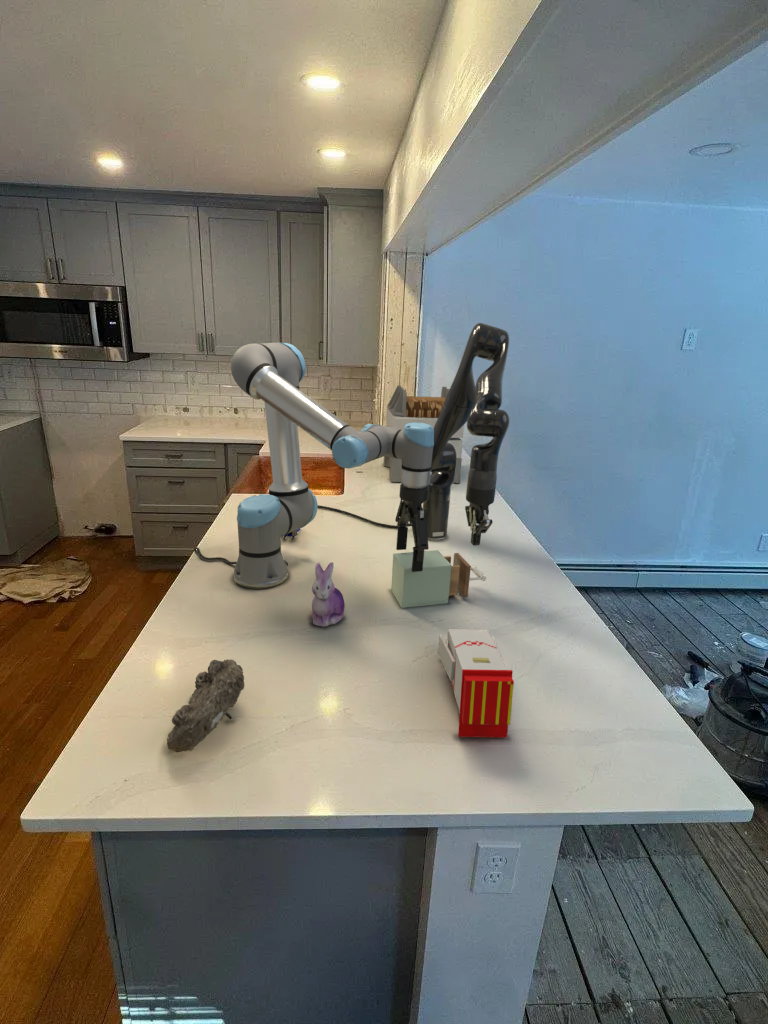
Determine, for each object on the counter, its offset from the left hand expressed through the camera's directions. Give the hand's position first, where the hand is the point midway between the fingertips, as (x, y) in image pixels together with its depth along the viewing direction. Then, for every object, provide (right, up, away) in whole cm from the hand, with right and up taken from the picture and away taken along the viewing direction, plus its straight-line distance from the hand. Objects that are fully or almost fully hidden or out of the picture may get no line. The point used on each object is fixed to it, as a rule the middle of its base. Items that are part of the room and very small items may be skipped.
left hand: (408, 559), depth 152 cm
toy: (+11, -25, -34) cm, 43 cm away
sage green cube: (+3, -11, +5) cm, 12 cm away
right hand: (+18, +4, +4) cm, 19 cm away
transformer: (+11, +32, +123) cm, 127 cm away
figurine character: (-39, +5, +42) cm, 58 cm away
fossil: (-39, -26, -44) cm, 65 cm away
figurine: (-21, -14, -8) cm, 27 cm away
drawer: (+12, -9, +7) cm, 17 cm away
